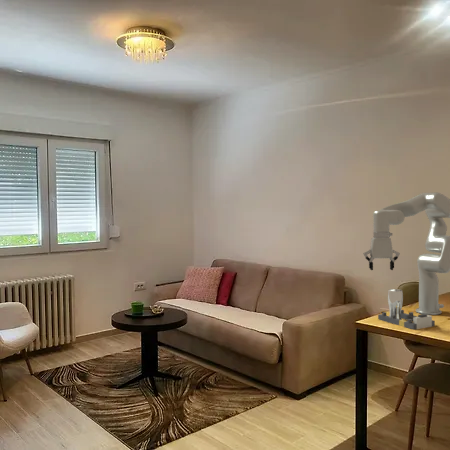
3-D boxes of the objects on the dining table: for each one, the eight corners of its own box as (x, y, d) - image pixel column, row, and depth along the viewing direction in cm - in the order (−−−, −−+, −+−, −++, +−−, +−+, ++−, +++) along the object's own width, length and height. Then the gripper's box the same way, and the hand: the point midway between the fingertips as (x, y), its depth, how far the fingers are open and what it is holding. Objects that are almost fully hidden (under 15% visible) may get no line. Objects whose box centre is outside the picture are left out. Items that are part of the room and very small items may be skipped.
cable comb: (398, 316, 233) (398, 304, 233) (434, 326, 214) (434, 313, 213) (378, 319, 227) (378, 307, 227) (413, 329, 207) (413, 316, 207)
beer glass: (388, 317, 231) (388, 288, 230) (402, 318, 228) (402, 289, 228) (387, 320, 224) (387, 291, 224) (402, 322, 222) (402, 291, 221)
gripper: (397, 234, 226) (397, 268, 226) (361, 235, 227) (362, 268, 228) (401, 235, 218) (401, 270, 219) (364, 236, 220) (365, 270, 221)
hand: (381, 269), depth 223 cm, fingers open, 9 cm apart
